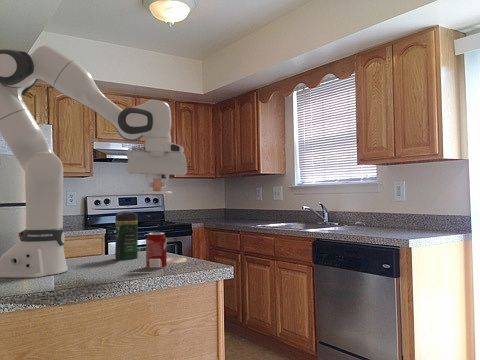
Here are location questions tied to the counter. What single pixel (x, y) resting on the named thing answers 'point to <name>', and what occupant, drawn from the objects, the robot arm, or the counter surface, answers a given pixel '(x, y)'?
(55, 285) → the counter surface
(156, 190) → the lid
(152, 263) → the soda can
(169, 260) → the mat
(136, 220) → the coffee jar
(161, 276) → the counter surface
